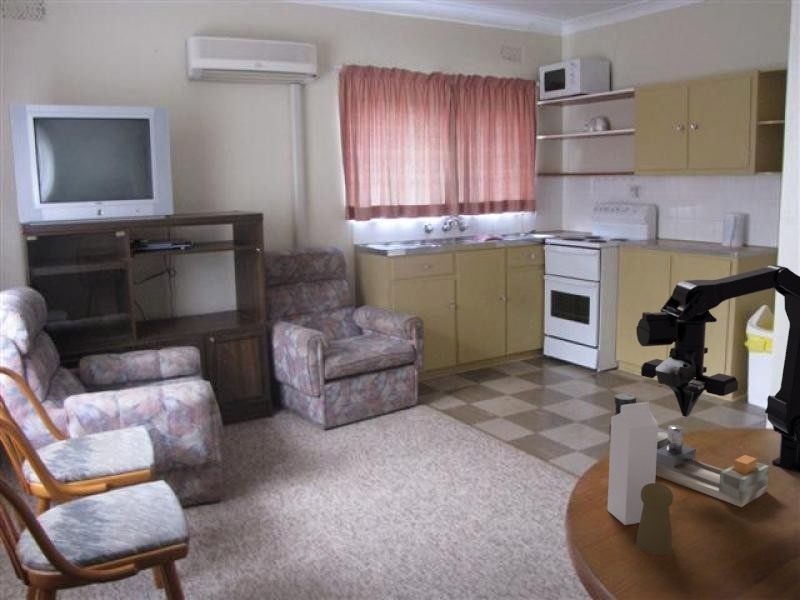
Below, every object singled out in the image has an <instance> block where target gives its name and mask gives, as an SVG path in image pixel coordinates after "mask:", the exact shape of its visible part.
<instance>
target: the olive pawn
mask: <svg viewBox="0 0 800 600" xmlns="http://www.w3.org/2000/svg"><path fill="white" fill-rule="evenodd" d="M673 499H674V494H673V492H672V489H670V488H669V487H668V486H667V485H665V484H662V483H656V482H655V483H650V484H647V485H645V486H644V487H643V488H642V490H641V500H642V502H643V503H644V504H643V509H642V514H641V519H640V523H639V524H638V529H637V535H636V540H635V546H636V547H637V549H638V550H639V551H641V550H642V552H644V553H645V552H646V553H645V554H648V555H653V556H665V555H668V554H670V553H671V552H672V551H673V539H672V528H671V516H670V514H671V513H670V507H671V505H673V502H674V501H673Z"/></svg>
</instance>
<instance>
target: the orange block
mask: <svg viewBox="0 0 800 600" xmlns="http://www.w3.org/2000/svg"><path fill="white" fill-rule="evenodd" d="M757 462H758V458H755V457H753V456H749V455H747V454H744V455H742V456H739V457H738V458H736V459H734V463H733V465H734V471H736V472H739V473H742V474H745V475H748V474H750V473H752V472H753V471H755V470H756V464H757Z"/></svg>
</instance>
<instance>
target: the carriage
mask: <svg viewBox="0 0 800 600" xmlns="http://www.w3.org/2000/svg"><path fill="white" fill-rule="evenodd" d="M667 434H668V441H667V445H666V446H664V447H662V448H659V449H657V457H656V461H657V462H659V463H662V464H665V465H668V466H671V467H674V468H675V467H677V466H679V465H681V464H683V463H685V462H687V461H689V460H691V459H693V460H694V459H695V458H696V451H697V449H696V448H695V447H692V446H689V445H685V444H683V443H684V439H683V438H684V427H683V426H681V425H677V424H672V425H671V424H670V425H668V427H667Z"/></svg>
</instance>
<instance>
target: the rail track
mask: <svg viewBox="0 0 800 600" xmlns="http://www.w3.org/2000/svg"><path fill="white" fill-rule="evenodd" d="M667 441H668V432H662V431H658V439H657V449H659V448H662V447H664V446H666V445H667ZM769 470H770V465H767V464H765V463H761V462H758V461H757V464H756V470H755V471H753V472H752V473H750V474H748V475H745V474H742V473H739V472H736V471H734V464H733V465H731V466H730V467H728V468H726V469H722V468H720V467H717V466H713V465H710V464H708V463H705V462H702V461H698V460H696V459H694V458H693V459H691V460H689V461H687V462H685V463H683V464H681V465H679V466H677V467H675V468H674V467H671V466H668V465H665V464H662V463H659V462H657V461H656V475H655V477H656V476H657V477H660V478H663V479H664V480H668V481H671V482H673V483H676V484H678V485H681V486H684V487H687V488H688V489H692V490H694V491H697V492H700V493H702V494H706V495H708V496H711V497H712V498H713V497H714V498H716V499H719V500H722V501H724V502H726V503H729V504H732V505H735V506H737V507H739V508H743V507H744V506H745V505H747V504H749V503H751V502H753V501H754V500H755V499H757V498H759V497H761V496H762V495H764V494H765V493H767V492H768V485H769V484H768V483H769V473H770V472H769Z"/></svg>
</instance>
